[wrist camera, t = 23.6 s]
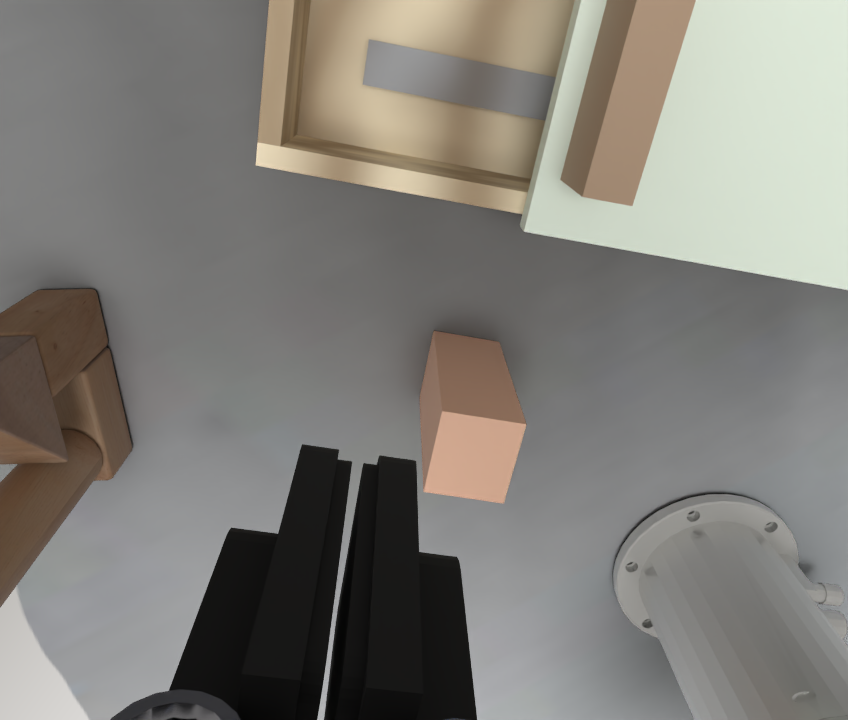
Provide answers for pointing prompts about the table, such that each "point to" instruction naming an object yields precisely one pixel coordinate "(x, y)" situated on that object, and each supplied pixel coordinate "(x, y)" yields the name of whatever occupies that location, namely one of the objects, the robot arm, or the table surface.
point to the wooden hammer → (53, 419)
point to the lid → (702, 135)
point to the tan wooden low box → (412, 93)
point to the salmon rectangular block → (468, 419)
